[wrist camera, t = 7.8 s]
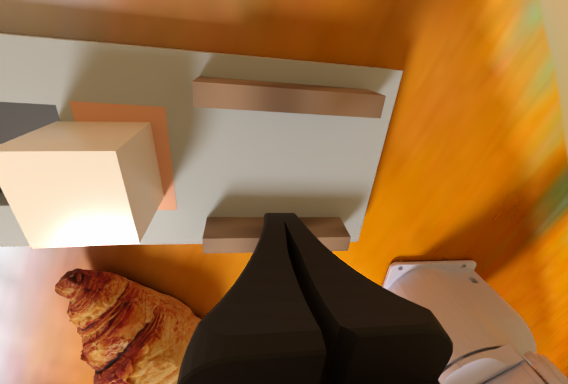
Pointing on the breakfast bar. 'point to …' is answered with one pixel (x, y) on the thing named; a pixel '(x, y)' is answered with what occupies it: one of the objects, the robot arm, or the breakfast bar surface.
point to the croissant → (127, 327)
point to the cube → (82, 183)
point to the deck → (202, 129)
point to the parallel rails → (286, 99)
